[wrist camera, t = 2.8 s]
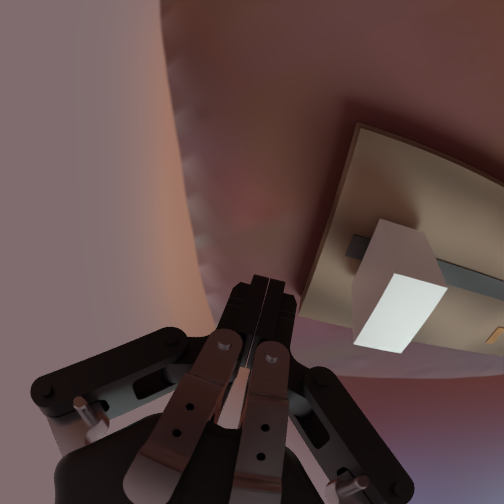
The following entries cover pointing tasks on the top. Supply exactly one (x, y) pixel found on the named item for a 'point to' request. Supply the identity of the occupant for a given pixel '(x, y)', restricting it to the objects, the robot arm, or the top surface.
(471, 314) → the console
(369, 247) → the fader tab
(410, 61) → the top surface
